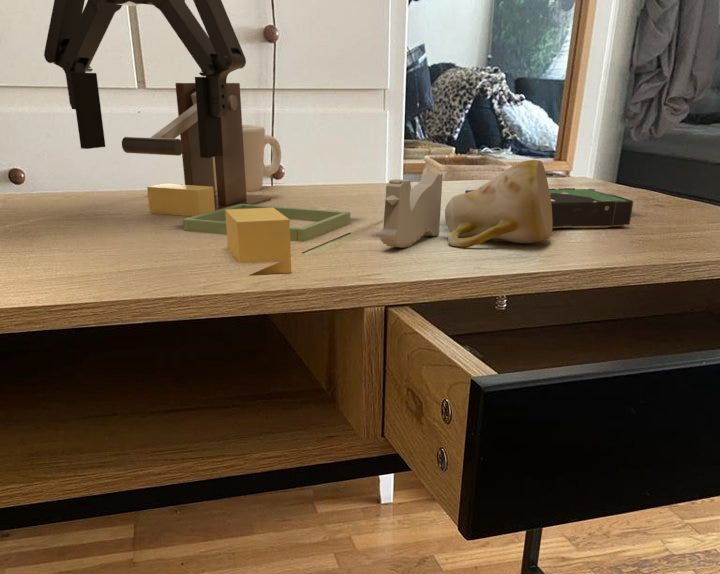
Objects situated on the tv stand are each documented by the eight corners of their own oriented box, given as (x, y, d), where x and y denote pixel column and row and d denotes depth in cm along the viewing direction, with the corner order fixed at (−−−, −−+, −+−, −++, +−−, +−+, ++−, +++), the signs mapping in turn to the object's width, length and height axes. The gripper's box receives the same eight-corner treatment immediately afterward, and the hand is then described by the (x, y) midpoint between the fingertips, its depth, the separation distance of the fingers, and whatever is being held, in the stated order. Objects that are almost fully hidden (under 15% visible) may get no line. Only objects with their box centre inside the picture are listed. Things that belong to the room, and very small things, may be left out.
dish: (184, 241, 70) (182, 219, 69) (241, 224, 78) (240, 203, 77) (303, 253, 66) (303, 229, 65) (350, 233, 74) (350, 211, 73)
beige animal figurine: (438, 236, 74) (391, 253, 66) (425, 234, 74) (377, 251, 67) (442, 172, 71) (394, 182, 63) (429, 171, 72) (379, 181, 64)
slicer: (225, 223, 79) (214, 83, 73) (160, 217, 82) (145, 82, 76) (271, 209, 87) (265, 82, 81) (211, 204, 90) (201, 82, 84)
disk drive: (492, 233, 75) (631, 227, 78) (495, 203, 74) (636, 198, 76) (461, 216, 84) (587, 211, 87) (463, 189, 83) (590, 185, 85)
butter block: (150, 222, 79) (146, 186, 77) (168, 218, 81) (164, 183, 80) (200, 227, 77) (197, 190, 75) (216, 222, 79) (213, 186, 78)
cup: (264, 189, 102) (260, 123, 98) (298, 195, 97) (296, 126, 93) (192, 195, 96) (185, 125, 92) (224, 203, 91) (219, 129, 87)
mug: (444, 232, 76) (502, 138, 72) (522, 287, 74) (587, 193, 70) (420, 224, 69) (483, 120, 65) (506, 284, 67) (576, 180, 63)
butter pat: (291, 272, 60) (289, 219, 58) (240, 275, 58) (237, 221, 57) (275, 257, 65) (273, 207, 63) (228, 259, 63) (224, 209, 62)
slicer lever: (178, 163, 72) (171, 137, 70) (126, 160, 74) (117, 135, 72) (243, 110, 80) (238, 85, 78) (194, 108, 82) (188, 84, 80)
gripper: (279, -127, 62) (285, 156, 72) (38, -111, 70) (73, 141, 80) (230, -150, 56) (244, 164, 66) (-28, -129, 64) (20, 147, 74)
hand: (150, 152), depth 73 cm, fingers open, 13 cm apart
